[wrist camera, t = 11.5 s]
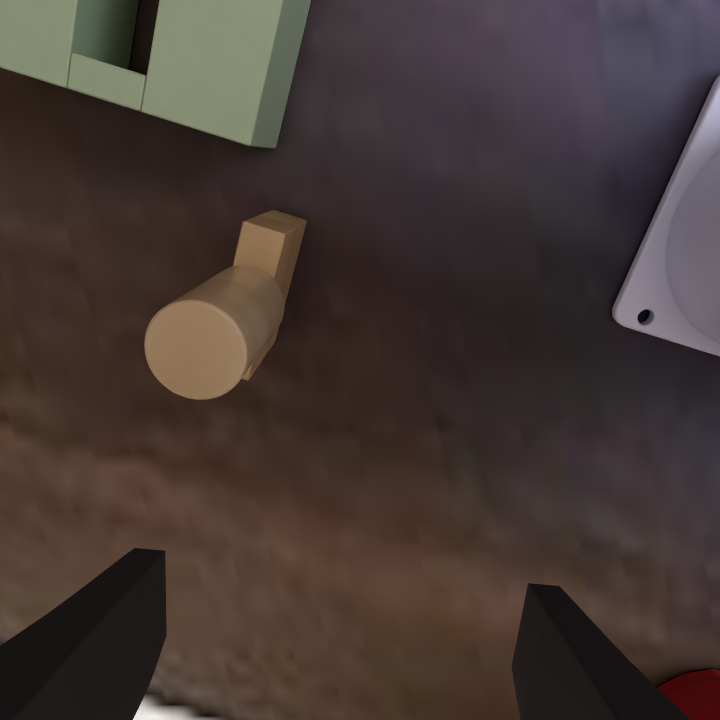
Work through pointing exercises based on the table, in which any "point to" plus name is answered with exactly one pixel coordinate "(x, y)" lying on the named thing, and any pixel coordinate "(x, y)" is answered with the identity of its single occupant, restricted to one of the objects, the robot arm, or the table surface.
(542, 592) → the robot arm
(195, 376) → the wooden peg
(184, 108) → the green slotted block
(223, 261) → the table surface
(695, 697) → the plastic cup
